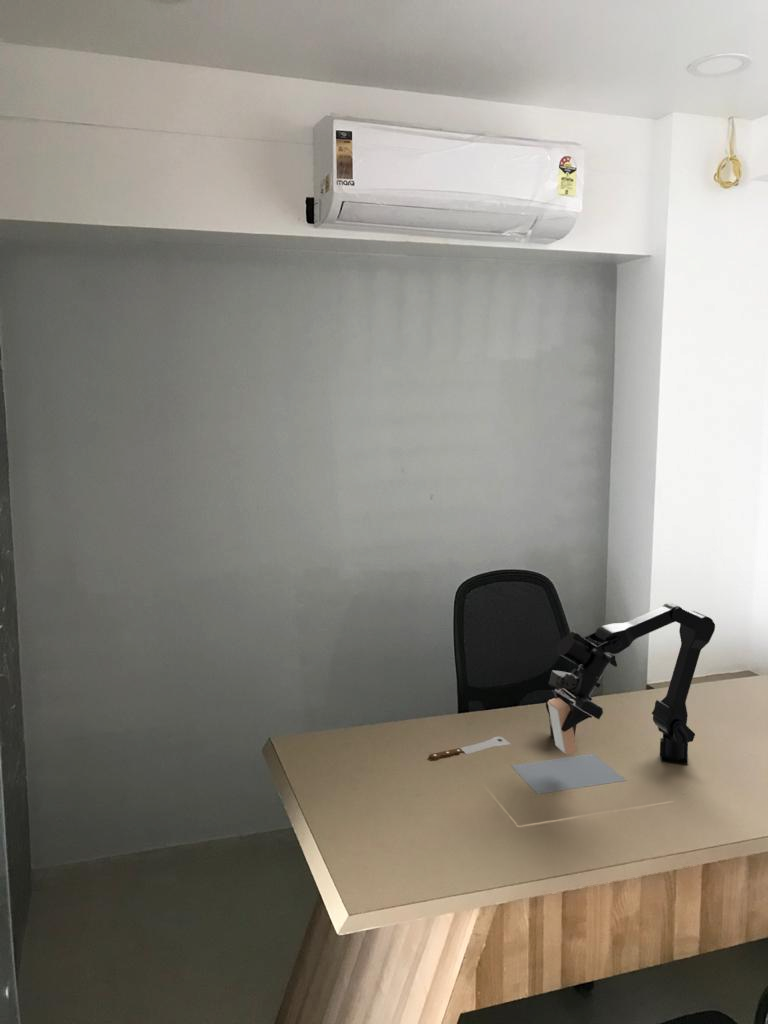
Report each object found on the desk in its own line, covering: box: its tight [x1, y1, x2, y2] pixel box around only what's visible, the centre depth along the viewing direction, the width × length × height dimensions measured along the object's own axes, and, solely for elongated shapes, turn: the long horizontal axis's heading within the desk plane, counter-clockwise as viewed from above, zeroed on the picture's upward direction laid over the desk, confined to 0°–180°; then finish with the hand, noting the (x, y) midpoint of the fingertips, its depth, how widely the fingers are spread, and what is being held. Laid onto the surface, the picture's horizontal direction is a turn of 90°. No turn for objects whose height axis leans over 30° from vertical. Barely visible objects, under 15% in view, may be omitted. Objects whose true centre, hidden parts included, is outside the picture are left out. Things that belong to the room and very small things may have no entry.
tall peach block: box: [547, 698, 578, 755], centre depth 218 cm, size 3×6×12 cm, turn 15°
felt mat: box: [510, 753, 627, 795], centre depth 220 cm, size 24×16×1 cm, turn 105°
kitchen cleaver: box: [428, 736, 511, 761], centre depth 233 cm, size 24×1×10 cm
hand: (557, 726), depth 218 cm, fingers closed on tall peach block, 5 cm apart
